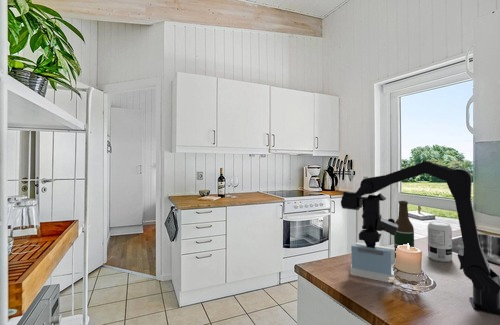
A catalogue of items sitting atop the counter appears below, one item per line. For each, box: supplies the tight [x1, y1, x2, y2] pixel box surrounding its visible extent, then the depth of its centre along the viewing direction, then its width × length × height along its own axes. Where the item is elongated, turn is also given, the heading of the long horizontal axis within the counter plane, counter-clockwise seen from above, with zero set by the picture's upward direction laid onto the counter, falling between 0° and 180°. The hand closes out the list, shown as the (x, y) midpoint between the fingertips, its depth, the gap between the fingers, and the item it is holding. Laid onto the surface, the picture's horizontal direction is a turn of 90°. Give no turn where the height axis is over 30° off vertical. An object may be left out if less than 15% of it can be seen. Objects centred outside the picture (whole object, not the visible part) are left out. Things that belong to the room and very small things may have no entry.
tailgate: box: [351, 244, 391, 275], centre depth 88 cm, size 2×13×8 cm, turn 58°
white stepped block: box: [350, 242, 396, 283], centre depth 95 cm, size 14×14×8 cm
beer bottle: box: [393, 200, 415, 251], centre depth 111 cm, size 8×8×24 cm
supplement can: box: [427, 221, 453, 263], centre depth 106 cm, size 8×8×15 cm
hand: (372, 254), depth 92 cm, fingers closed
